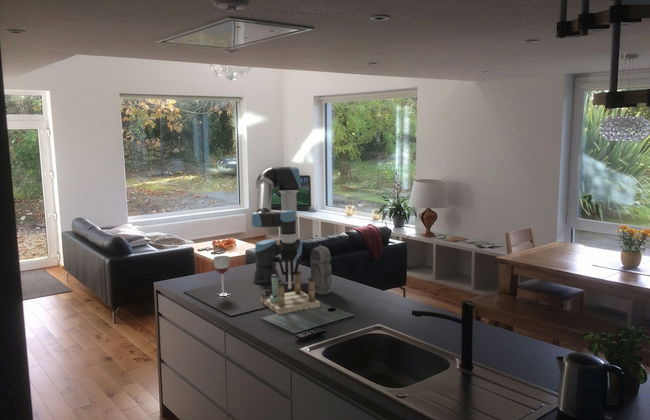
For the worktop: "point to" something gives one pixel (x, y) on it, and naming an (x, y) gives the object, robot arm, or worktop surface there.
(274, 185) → the robot arm
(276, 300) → the folding leg
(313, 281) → the stool
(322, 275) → the figurine
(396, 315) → the worktop surface
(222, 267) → the wineglass
